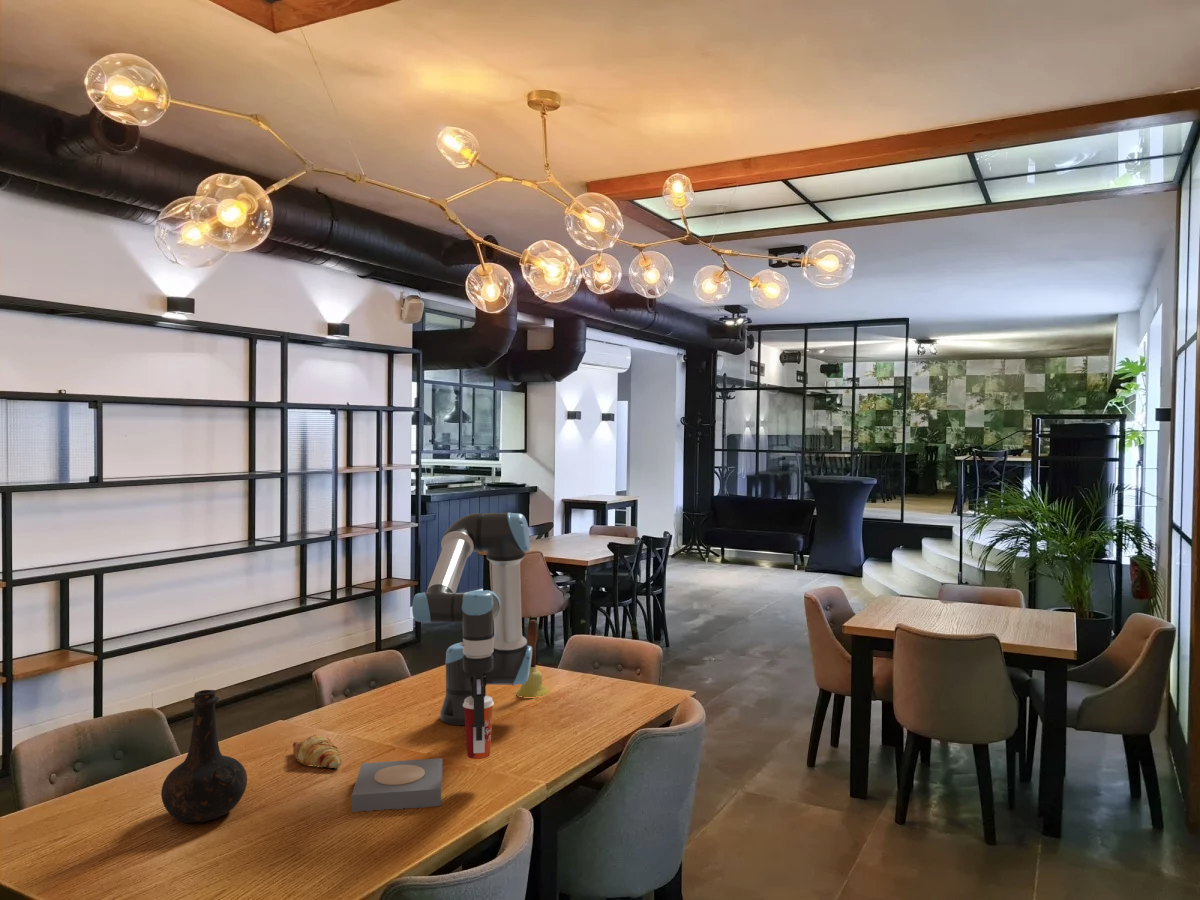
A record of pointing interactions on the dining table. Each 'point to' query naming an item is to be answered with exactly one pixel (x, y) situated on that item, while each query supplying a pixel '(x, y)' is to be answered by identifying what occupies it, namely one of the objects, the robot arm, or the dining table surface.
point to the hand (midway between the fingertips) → (478, 746)
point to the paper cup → (469, 721)
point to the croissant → (317, 752)
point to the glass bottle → (204, 771)
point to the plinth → (398, 785)
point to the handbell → (532, 669)
